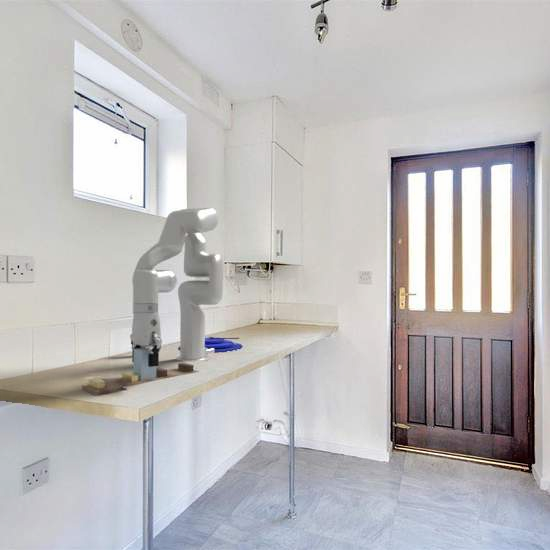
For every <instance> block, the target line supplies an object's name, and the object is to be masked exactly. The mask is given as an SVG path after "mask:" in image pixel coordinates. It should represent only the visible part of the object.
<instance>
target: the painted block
mask: <svg viewBox="0 0 550 550" xmlns="http://www.w3.org/2000/svg"><path fill="white" fill-rule="evenodd" d="M152 349H153V347H152ZM148 354H150V352H149V350H148V347H145V348H137V349H134V362H132V363H133V368H132V369H133V370H132V371H133V374H136V375H138V380H141V381H142V380H147V379H152V378H156V367H157V366H154V367H149V366H148Z"/></svg>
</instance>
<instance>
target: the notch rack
mask: <svg viewBox="0 0 550 550" xmlns="http://www.w3.org/2000/svg"><path fill="white" fill-rule="evenodd" d="M199 372H200V371H199V370H195V369H194V364H192V363H185V362H180V363H179V362H178V364H177V367H176V368H170V369H165V368H162V367H159V366H156V378H152V379H147V380H142V381H141V380H138V375H136V374H133V373H131V372H129V371H127V372H122V373H121V378H117V379H115V378H114V379H110V380H102V379H99V378H97V377H92V378H88V384H83V385H81V390H84V391H86V392H88V393H89V394H93V395H94V396H102V395H107V394H112V393H117V392H122V391H126V390H128V389H127V388H125V387H129V386H135V385H139V384H144V383H150V382H155V381H159V380H166V379H169V378H174V377H180V376H184V375H190V374H194V373H199Z"/></svg>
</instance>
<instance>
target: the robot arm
mask: <svg viewBox="0 0 550 550" xmlns="http://www.w3.org/2000/svg"><path fill="white" fill-rule="evenodd" d="M164 222H165V223H164V225H163V228H162V231H161V234H160V236H159V239H158V241H157V243H156V244H154V245H153V246H152V247H150V248H149V249H148V250H146V252H145V253H143V255H142V256H141V257H140V258H139V260H138V261H137V264H136V265H135V269H134V272H133V274H132V279H131V280H132V282H131V283H132V315H133V316H132V317H133V318H132V325H131V328H132V330H131V333H130V336H129V338H130V341H131V342H130V344H131V350H132V351H131V353H132V356H131V359H132V360H131V361H132V363H133V362H134V349H137V348H141V347H142V346H145V347H148V350H149V352H150V354H148V366H149V367H154V366H156V367H159V365H160V364H159V362H160V361H159V360H160V351H161V348H162V342H163V339H162V336H161V333H162V332H161V322H160V321H161V320H160V316H159V293H161V294H162V293H169V292H172V291H173V290H175V288H176V286H177V283H178V282H177V281H178V279H177V276H176V274H175V273H174V272H173V271H170V270H169V269H154V268H155V267H156V266H157V265H159V264H160V263H162V262H164V261H167V260H169V259H172V258H174V257H176V256H178V255H179V254H181V253H182V251H183V248H184V251H183V253H184V255H183V273H184V275H185V276H187V277H190V278H209V279H208V280H197V279H196V280H195V279H194V280H186V281H183V282H181V283H180V284H179V286H178V289H177V296H178V301H179V310H180V311H179V312H180V315H179V316H180V324H179V325H180V333H179V334H180V338H179V339H180V340H179V342H180V343H179V344H180V346H179V347H180V350H179V351H180V353H179V354H180V355H179V356H177V357H176V358H175V359H176V360H177V361H182V362H197V361H198V362H199V361H205V362H208V361H209V356H208V355H209V354H214V348H211V349H207V348H205V338H206V332H205V331H206V315H205V312H204V310H203V309H202V307H201V306H200V305H203V306H204V305H206V306H209V305H210V306H211V305H212V306H213V305H218V304H219V303H221V301H222V298H223V289H224V288H223V287H224V272H225V271H224V270H225V269H224V261H223V258H222V256H221V255H219V254H218V253H207V241H206V239H205V237H204V236H203V233H206V232H210V231H213V230H214V229H216V227H217V225H218V223H219V215H218V213H217V211H216V209H214V208H212V207H197V208H194V207H193V208H184V209H183V208H182V209H179V210H175V211H171V212H170V213H169V214H168V215H167V217H166V220H165V221H164ZM152 348H153V349H152Z"/></svg>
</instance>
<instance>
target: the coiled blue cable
mask: <svg viewBox="0 0 550 550" xmlns="http://www.w3.org/2000/svg"><path fill="white" fill-rule="evenodd" d="M238 339H240V337H213V336H209V337H205V348H207V349H211V348H214V353H215V354H216V353H217V354H218V353H219V352H221V353H228V352H227V351H230V352H234V351H233V350H235V351H238V350H237V349H239V350H241V348H242V347H243V345H242V344H241V343H237V342H234V341H231V340H238ZM242 349H243V348H242ZM178 350H179V351H180V346H179V347H178ZM214 353H213V354H214ZM219 354H220V353H219Z"/></svg>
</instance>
